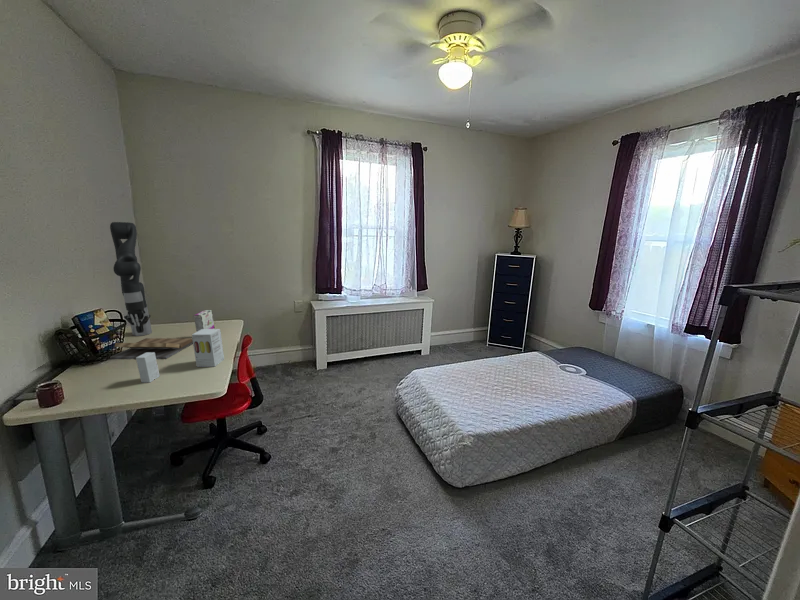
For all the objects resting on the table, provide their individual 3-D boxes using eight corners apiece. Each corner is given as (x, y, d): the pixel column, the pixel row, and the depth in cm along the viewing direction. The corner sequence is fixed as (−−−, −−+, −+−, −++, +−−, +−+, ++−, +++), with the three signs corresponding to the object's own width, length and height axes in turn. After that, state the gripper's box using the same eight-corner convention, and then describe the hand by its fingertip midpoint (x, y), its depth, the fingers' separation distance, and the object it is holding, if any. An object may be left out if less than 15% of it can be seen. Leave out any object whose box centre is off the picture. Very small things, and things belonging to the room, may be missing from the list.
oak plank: (114, 346, 174) (115, 342, 175) (130, 347, 184) (131, 344, 185) (166, 346, 173) (166, 342, 174) (179, 347, 183) (179, 344, 183)
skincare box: (151, 376, 152) (146, 352, 149) (160, 376, 152) (155, 352, 149) (140, 382, 146) (135, 357, 144) (149, 382, 146) (144, 357, 143)
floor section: (110, 358, 173) (109, 353, 172) (146, 342, 196) (145, 337, 196) (166, 358, 172) (165, 353, 171) (195, 342, 195) (194, 337, 195)
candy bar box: (208, 335, 208) (204, 309, 205) (216, 334, 208) (212, 309, 205) (197, 341, 198) (193, 314, 194) (205, 341, 197) (201, 314, 194)
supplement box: (195, 367, 161) (190, 334, 158) (206, 359, 170) (201, 328, 167) (215, 366, 162) (210, 334, 158) (225, 359, 171) (220, 328, 167)
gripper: (152, 298, 173) (158, 330, 177) (127, 299, 174) (134, 330, 178) (140, 302, 166) (147, 334, 170) (115, 302, 167) (122, 334, 171)
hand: (140, 332), depth 174 cm, fingers closed
